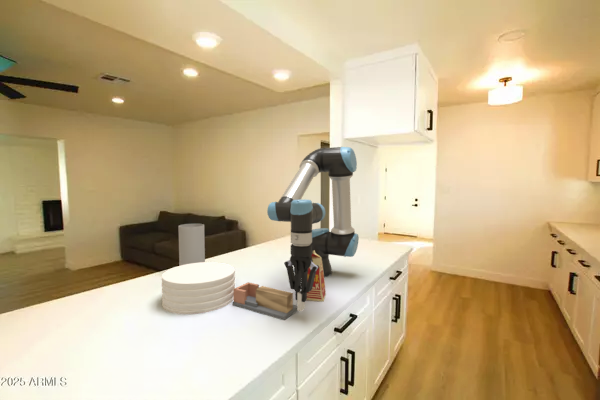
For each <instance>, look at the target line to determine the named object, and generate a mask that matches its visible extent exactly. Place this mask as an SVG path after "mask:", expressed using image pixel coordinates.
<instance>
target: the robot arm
mask: <svg viewBox="0 0 600 400" xmlns="http://www.w3.org/2000/svg"><path fill="white" fill-rule="evenodd" d="M357 163H358V162H357V156H356V154H355V151H354V149H353V148H351V147H349V146H337V147H320V148H317V149H314V150H313V151H310V153H308V154H307V155H306V156H305V157H304V158H303V159H302V161H301V162H300V164H299V170H297V173H296V174H295V175H294V177H293V179H292V180H291V181H290V183H289V185H288V186H287V187H286V189H285V191H284V192H283V194H282V196H281V197H280V199H279V200H278V201H272V202H270V203H269V204H268V206H267V210H266V211H267V216H268V219H270V220H271V221H276V222H288V223H290V257H289V260H286V261H285V262H283V263H284V266H285V268H286V272H287V276H288V283H289V287H290V289H291V290H294V292H295V293H294V295H295V301H297V302H296V303H297V305H296V306H297V311H296V312H303V310H305V309H306V305H305V304H306V303H305V302H307V301H308V300H307V293H308V292H310V291H311V290H312V287H313V283H314V279H315V275H316V271H317V270H318V268H319V266H318V265H315V264H314V263H313V260H312V254H313V251H314V250H315V253H316V254H317V255H319V256H320V257H321V258H322V264H323V272H324V278H325V277H329V276H331V275H332V274H333V267H332V265H331V261H330V258H329V257H330V256H331V255H332V256H339V257H344V258H346V257H350V258H352V257H354V256H355V254H356V252H357V250H358V245H359V234H357V233H355V228H354V227H353V226H352V207H351V206H352V205H351V202H352V201H351V178H352V177H353V176H354V173H355V172H356V171H357V167H358V165H357ZM319 173H327V175H328V176H327V177H328V178H329V179H331V189H332V190H331V193H332V195H331V196H332V211H333V212H332V213H333V214H332V215H333V218H332V219H333V227H332V228H331V229H330V228H327V227H325V228H324V227H322V228H320V227H319V228H314V229H313V224H318V223H319V222H321V221H323V220H324V219H325V217H326V208H325V207H324V206H323V204H321V203H319V202H312V200H311V199H302V198H303V196H304V195H305V193H306V191H307V189H308V188H309V186H310V184H311V183H312V181H313V180H314V178H315V177H317V176H318V175H319ZM310 266H311V268H310V270H311V271H310V274H309V278H308V268H309V267H310Z"/></svg>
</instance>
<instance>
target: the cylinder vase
mask: <svg viewBox="0 0 600 400" xmlns="http://www.w3.org/2000/svg"><path fill="white" fill-rule="evenodd" d="M205 245H206V244H205V224H204V223H203V224H202V223H184V224H180V225H178V258H179V259H178V261H179V262H178V264H179V266H181V265H185V264H191V263H200V262H206V255H205V254H206V252H205V251H206V248H205V247H206V246H205Z"/></svg>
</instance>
